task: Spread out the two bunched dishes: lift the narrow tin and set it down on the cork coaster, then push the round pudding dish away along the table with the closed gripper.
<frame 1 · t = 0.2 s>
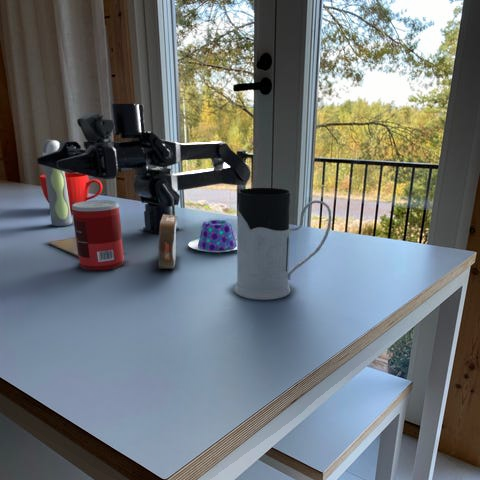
hand: (47, 162, 91), 17 cm above the table, tool horizontal, fingers open, 9 cm apart
canned food: (102, 265, 86), on the table
tin: (169, 264, 88), on the table
cork coaster: (82, 248, 97), on the table
pudding: (217, 248, 98), on the table
spray bottle: (62, 225, 119), on the table
glass holder: (279, 291, 74), on the table
ceramic cup: (75, 211, 137), on the table
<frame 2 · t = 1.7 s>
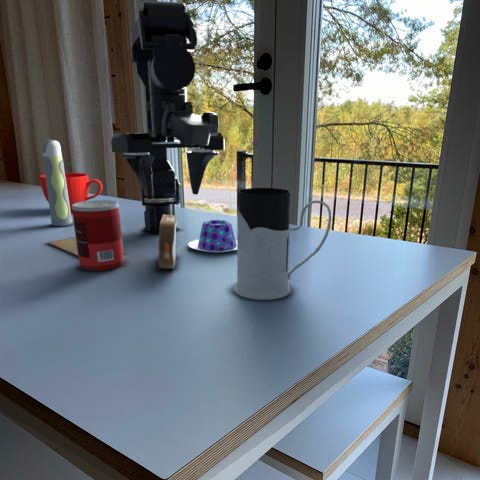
hand: (173, 196, 81), 12 cm above the table, tool pointing down, fingers open, 9 cm apart
nothing on the table moved.
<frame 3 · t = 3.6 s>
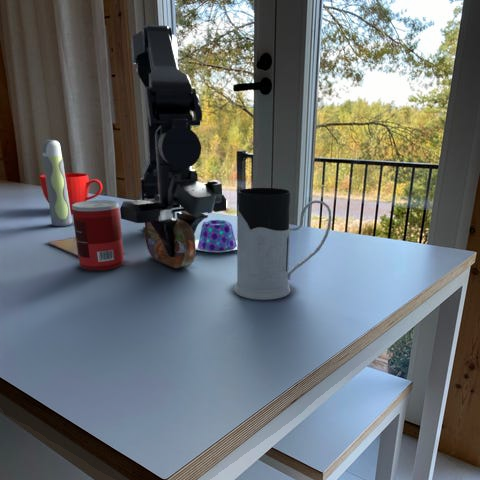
hand: (178, 255, 85), 2 cm above the table, tool pointing down, fingers closed on tin, 3 cm apart
tin: (171, 263, 88), on the table, touching gripper
everything else where it was.
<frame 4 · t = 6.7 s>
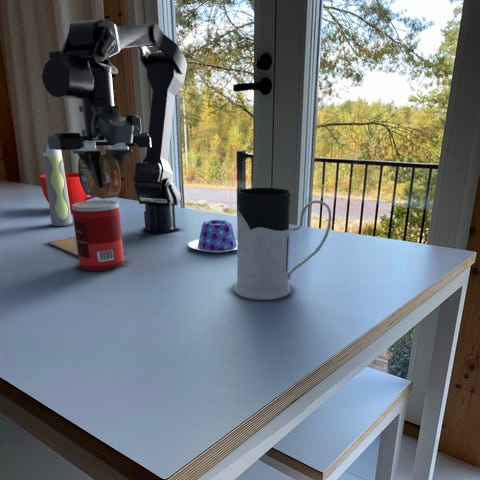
hand: (106, 187, 93), 12 cm above the table, tool pointing down, fingers closed on tin, 3 cm apart
tin: (102, 197, 96), point 10 cm above the table, touching gripper
everything else where it was.
when the fingers open (2 cm above the table, at t = 9.6 s): tin stays where it is, resting on cork coaster.
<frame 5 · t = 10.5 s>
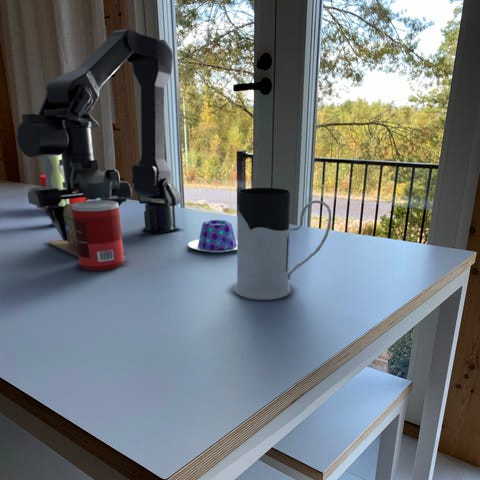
hand: (87, 237, 94), 3 cm above the table, tool pointing down, fingers open, 9 cm apart
tin: (84, 247, 98), resting on cork coaster
everything else where it was.
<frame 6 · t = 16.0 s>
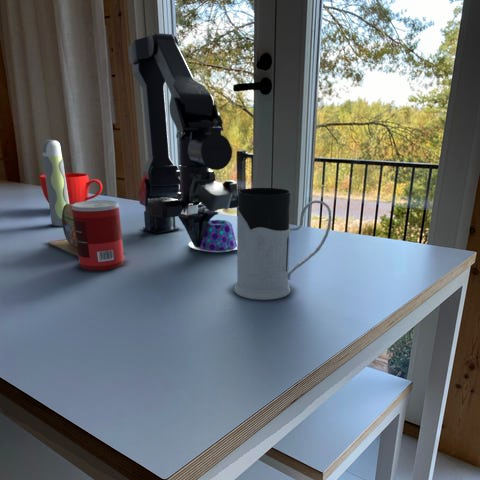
hand: (197, 247, 95), 1 cm above the table, tool pointing down, fingers closed
pudding: (217, 248, 98), on the table, touching gripper
everything else where it was.
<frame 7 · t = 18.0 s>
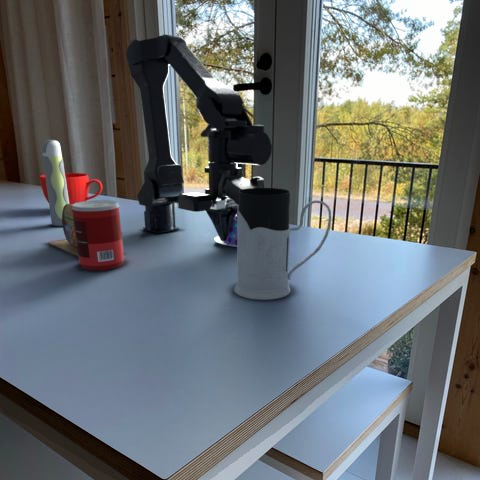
hand: (223, 240, 99), 1 cm above the table, tool pointing down, fingers closed
pudding: (241, 243, 102), on the table, touching gripper
everything else where it was.
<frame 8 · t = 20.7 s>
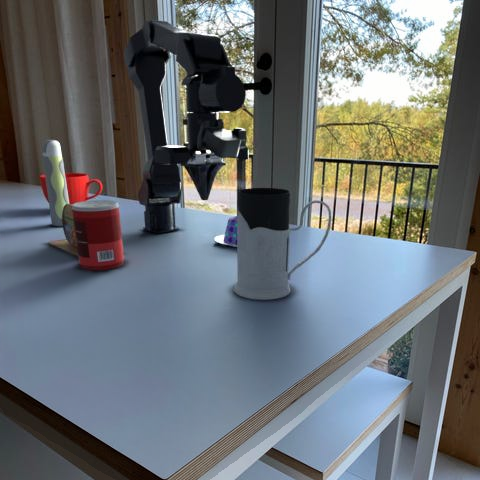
hand: (204, 200, 93), 10 cm above the table, tool pointing down, fingers closed
pudding: (242, 243, 103), on the table
everything else where it was.
at the end: tin 0.5 cm from the target spot, resting on cork coaster; tin tilted 0°; pudding inside the target area (1.6 cm from its centre), on the table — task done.
